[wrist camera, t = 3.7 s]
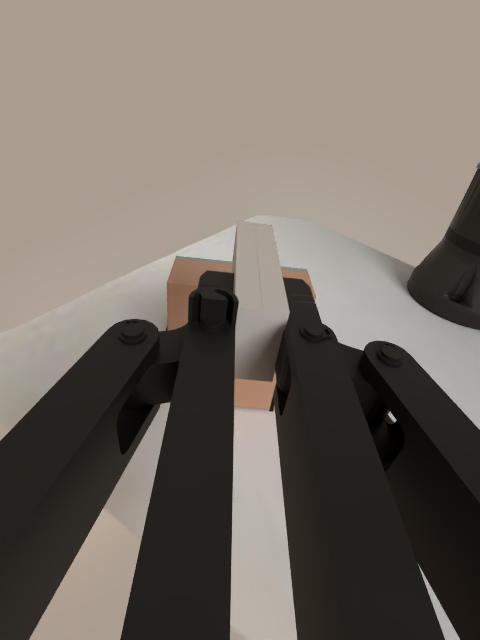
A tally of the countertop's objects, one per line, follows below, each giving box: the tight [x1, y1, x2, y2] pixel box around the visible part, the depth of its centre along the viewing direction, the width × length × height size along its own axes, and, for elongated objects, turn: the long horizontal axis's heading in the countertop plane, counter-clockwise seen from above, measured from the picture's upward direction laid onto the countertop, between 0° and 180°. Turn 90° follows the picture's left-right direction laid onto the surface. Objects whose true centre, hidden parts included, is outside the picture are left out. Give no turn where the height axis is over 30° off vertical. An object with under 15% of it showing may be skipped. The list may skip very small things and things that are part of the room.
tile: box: [167, 256, 316, 410], centre depth 28 cm, size 4×10×12 cm, turn 90°
